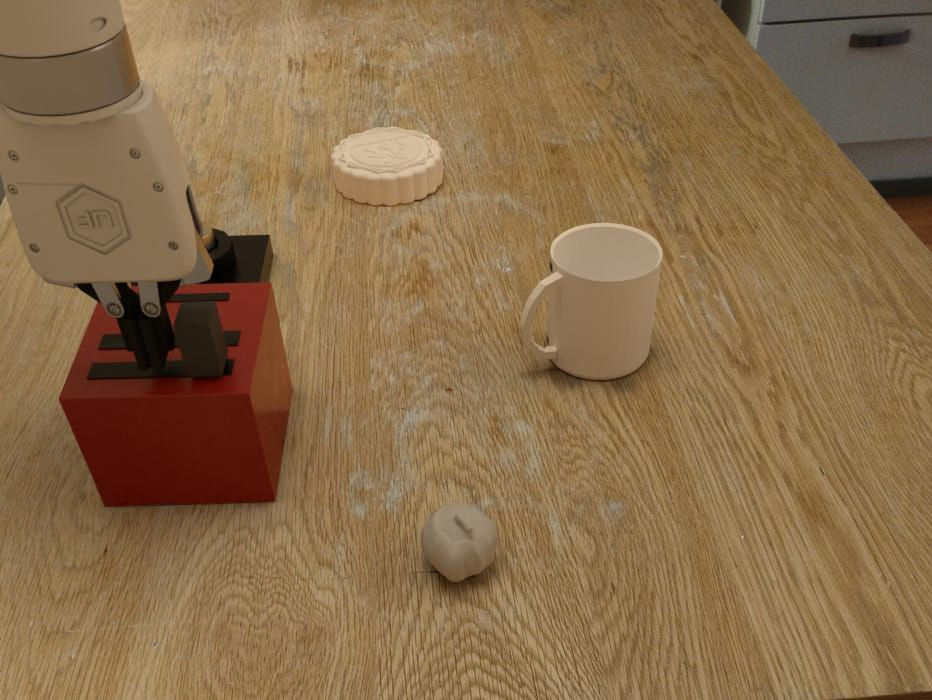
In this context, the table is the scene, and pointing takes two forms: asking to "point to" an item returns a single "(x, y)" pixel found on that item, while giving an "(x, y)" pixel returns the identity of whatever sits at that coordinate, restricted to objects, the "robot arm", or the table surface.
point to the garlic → (459, 541)
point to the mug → (597, 301)
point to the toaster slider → (201, 339)
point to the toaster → (184, 408)
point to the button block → (239, 259)
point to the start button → (208, 238)
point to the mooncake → (387, 166)
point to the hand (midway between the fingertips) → (155, 357)
